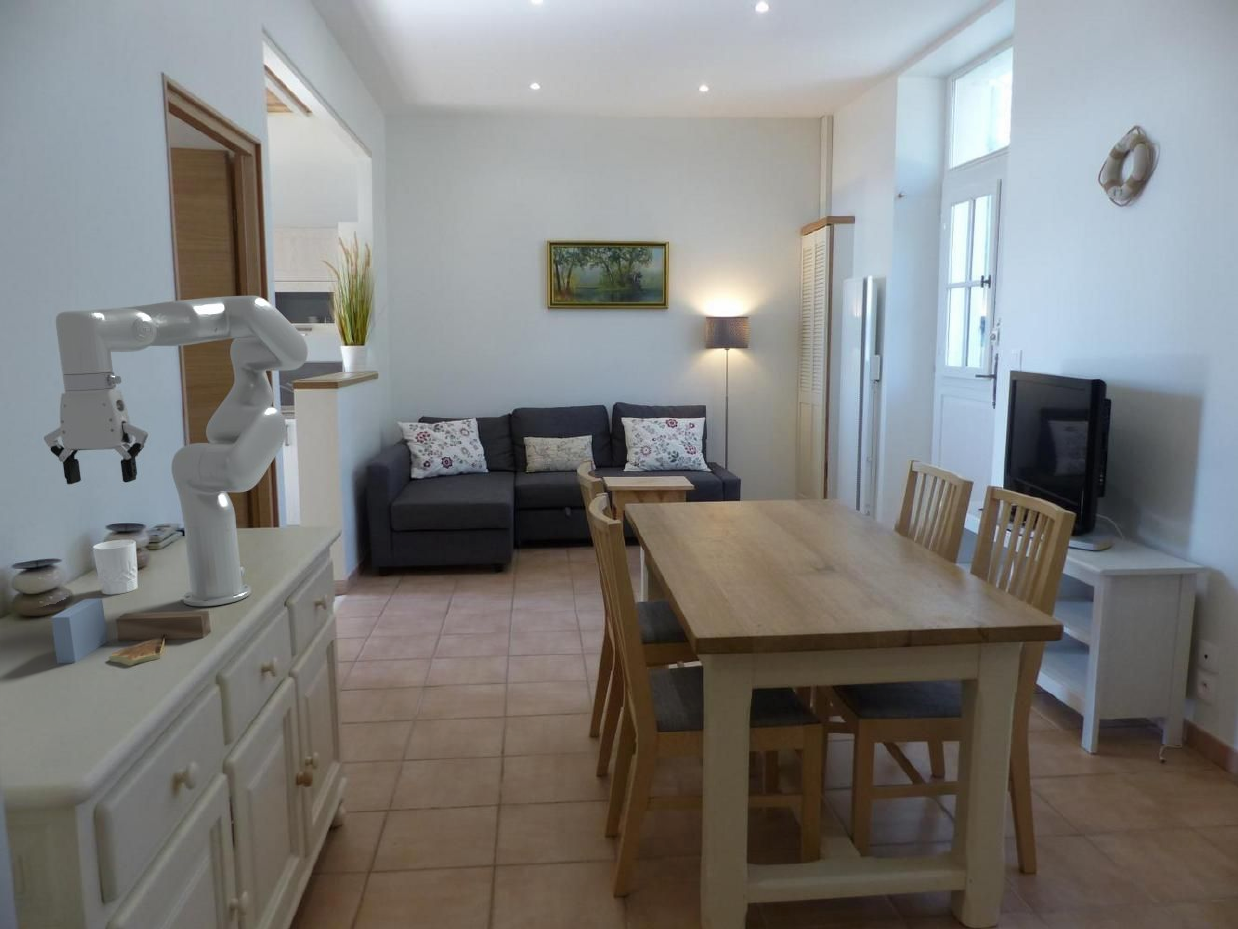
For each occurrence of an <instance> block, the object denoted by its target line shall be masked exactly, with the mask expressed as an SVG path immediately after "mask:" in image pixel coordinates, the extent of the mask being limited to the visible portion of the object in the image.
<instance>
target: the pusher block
mask: <svg viewBox="0 0 1238 929" xmlns="http://www.w3.org/2000/svg"><path fill="white" fill-rule="evenodd" d="M103 602H104V601H103V597H102V598H101V597H100V598H99V597H98V598H84V599H81V600H80V601H78V602H77V603H74V604H73V605H71V606H70V607H68V608H66V609H64V610H62V611H61V612H58V613H56V614H55V615H53V616H51V617H50V619H51V628H52V635H53V643H54V649H55V658H56V663H57V664H75V663H77V662H79V661H80V660H82V659H83V658H85V657H86V656H88V655H89V654H91V653H93V652H94V651H95V650H96V649H99V648H100V647H101V646H103V645H104V644H106V643H107V642H108V633H107V632H108V631H107V626H106V619H105V610H104V609H105V608H104V603H103Z"/></svg>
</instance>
